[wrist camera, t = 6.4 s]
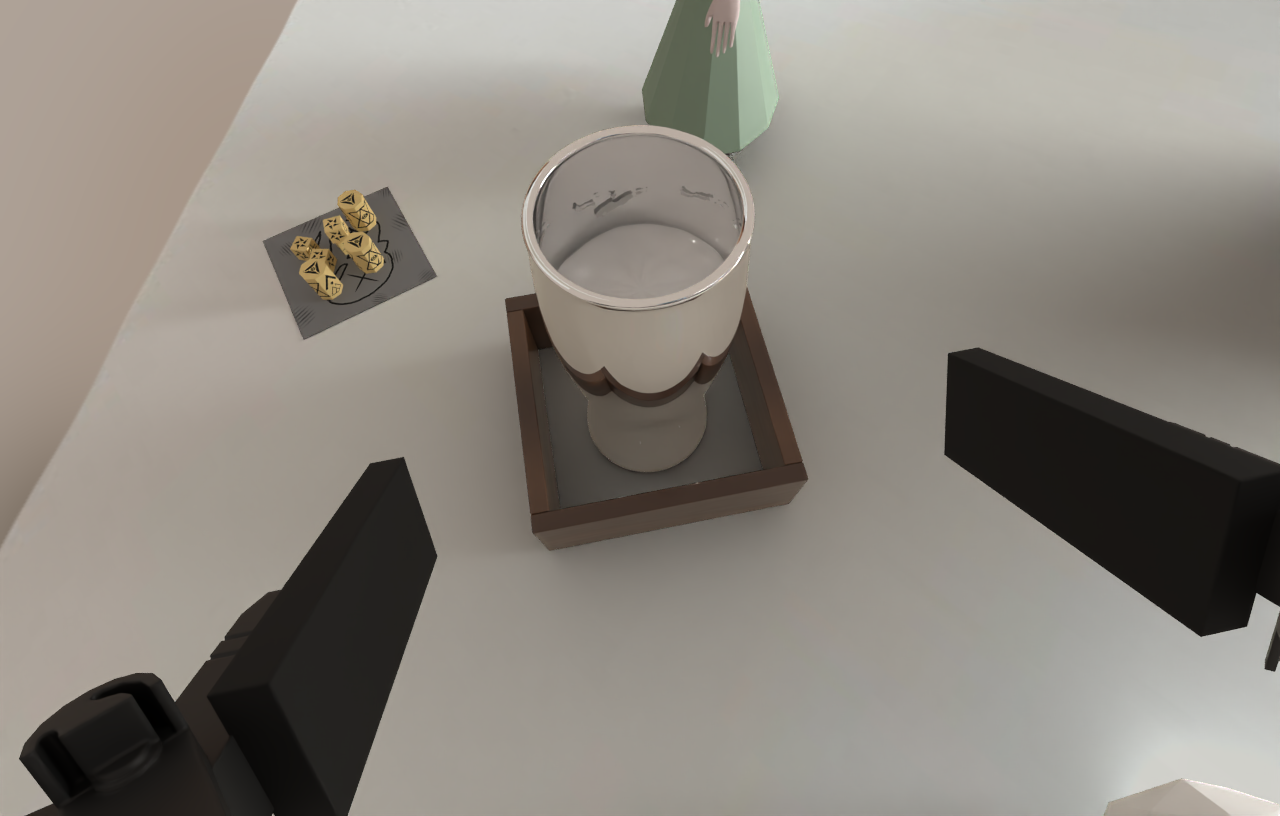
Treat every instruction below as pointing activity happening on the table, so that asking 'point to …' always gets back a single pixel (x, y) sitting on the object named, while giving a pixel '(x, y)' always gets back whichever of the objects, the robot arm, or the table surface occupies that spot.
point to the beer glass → (640, 281)
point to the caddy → (665, 505)
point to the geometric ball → (1191, 802)
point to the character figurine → (713, 73)
